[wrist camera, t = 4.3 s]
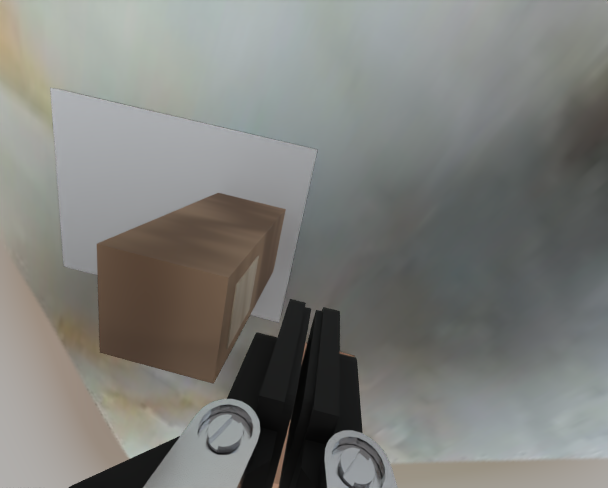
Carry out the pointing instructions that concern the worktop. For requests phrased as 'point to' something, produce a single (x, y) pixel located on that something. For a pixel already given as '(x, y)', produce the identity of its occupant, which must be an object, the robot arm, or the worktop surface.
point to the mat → (167, 177)
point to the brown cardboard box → (186, 283)
